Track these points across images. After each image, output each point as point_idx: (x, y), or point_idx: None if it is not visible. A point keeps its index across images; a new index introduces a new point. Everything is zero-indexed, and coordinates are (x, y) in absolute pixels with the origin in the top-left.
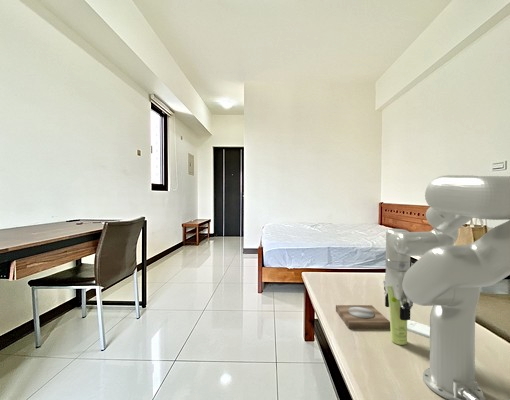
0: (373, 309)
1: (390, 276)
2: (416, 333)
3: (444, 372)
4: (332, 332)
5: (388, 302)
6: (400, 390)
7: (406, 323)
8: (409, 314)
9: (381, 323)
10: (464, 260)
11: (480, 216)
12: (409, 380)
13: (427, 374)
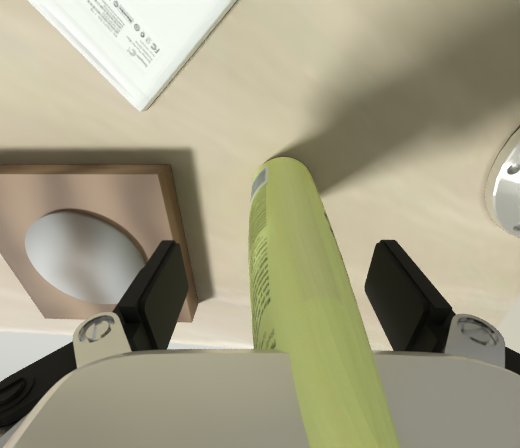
0: (12, 189)
1: None
2: (200, 43)
3: None
4: (226, 342)
5: (177, 304)
6: (500, 298)
7: (322, 205)
8: (411, 267)
9: (169, 213)
10: None
11: None
12: (483, 263)
13: (517, 221)
